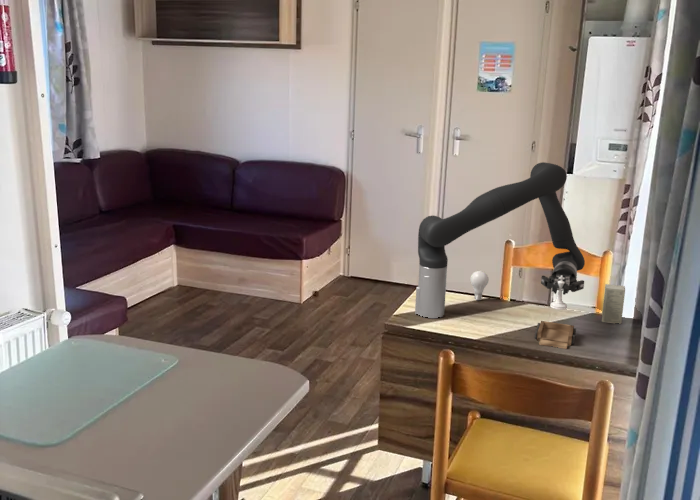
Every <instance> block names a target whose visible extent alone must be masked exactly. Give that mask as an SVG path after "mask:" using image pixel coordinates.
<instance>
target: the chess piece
mask: <svg viewBox="0 0 700 500" xmlns="http://www.w3.org/2000/svg"><path fill="white" fill-rule="evenodd" d="M559 279H561V280H560V281H558V285H559V288H557V296H556V297H557V298H556V300H555V301H552V302H550V305H549V306H550V308H553V309H556V310H566V309H567V308H568V305H567V304H566V303H565V302H564V301H563V288H562V287H563V285H564V283H565V282H564V281H562V279H565V278H564V277H563V276H562V275H561V277H559Z"/></svg>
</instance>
